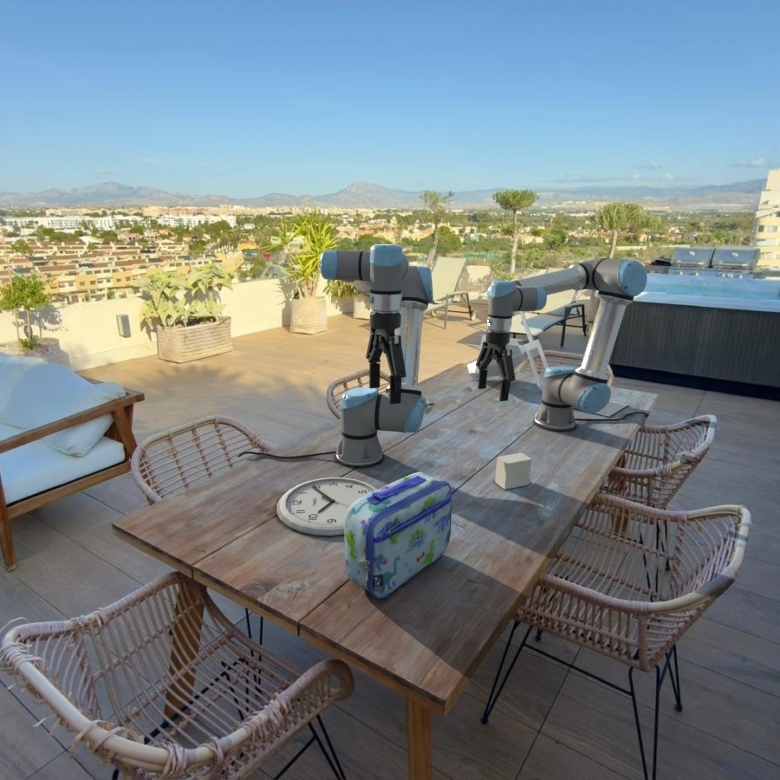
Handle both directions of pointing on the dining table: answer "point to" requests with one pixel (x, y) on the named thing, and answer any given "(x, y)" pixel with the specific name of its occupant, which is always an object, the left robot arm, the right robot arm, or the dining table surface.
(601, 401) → the right robot arm
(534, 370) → the white plastic object
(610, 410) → the invitation card
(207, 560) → the dining table surface
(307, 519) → the wall clock
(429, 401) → the fork
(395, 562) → the lunch box
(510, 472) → the block
